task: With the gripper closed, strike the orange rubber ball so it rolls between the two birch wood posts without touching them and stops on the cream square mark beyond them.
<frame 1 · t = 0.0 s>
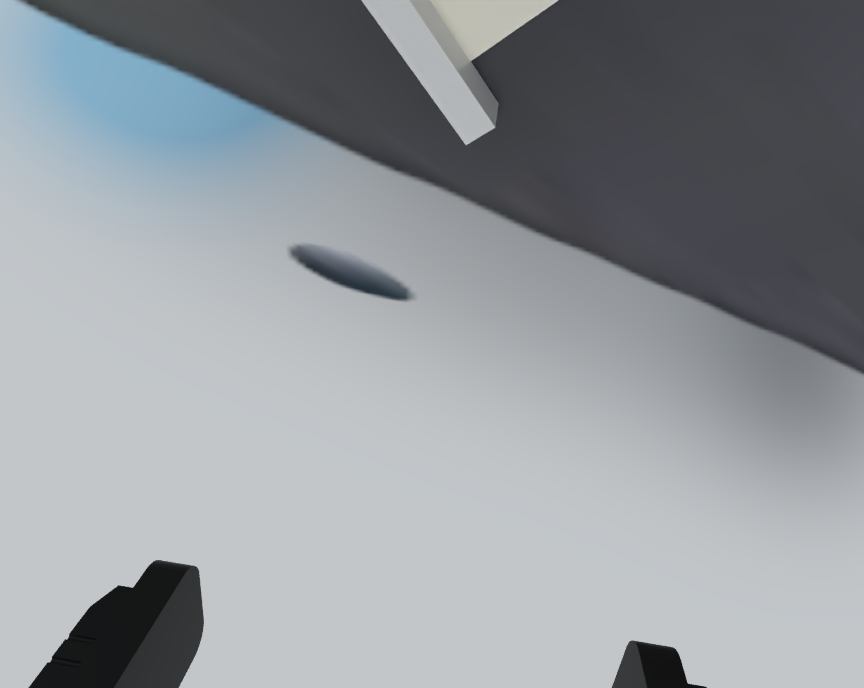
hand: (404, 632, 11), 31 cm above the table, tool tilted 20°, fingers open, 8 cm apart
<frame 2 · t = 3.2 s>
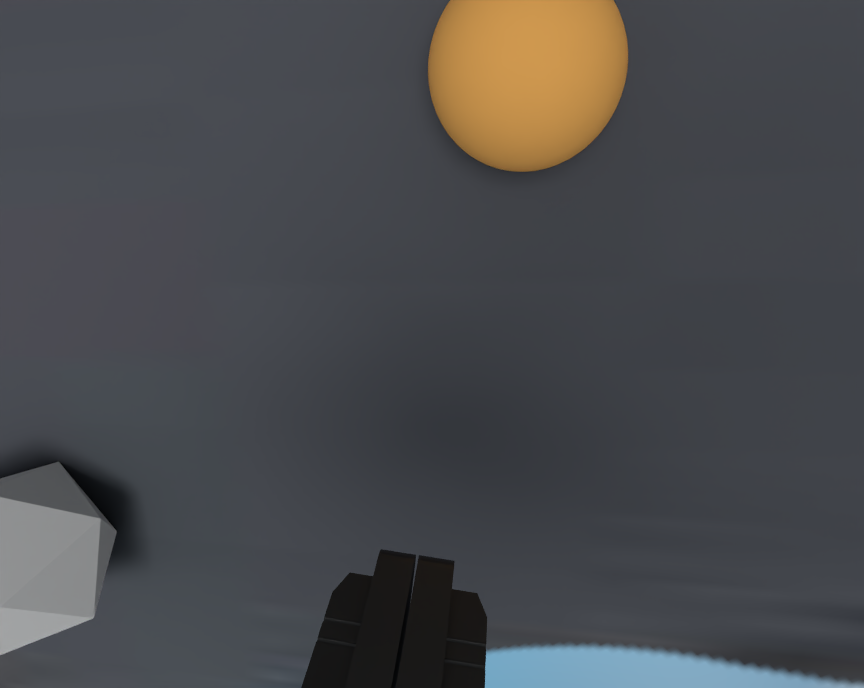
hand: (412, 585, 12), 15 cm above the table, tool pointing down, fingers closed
die: (71, 502, 33), on the table
ball: (525, 70, 18), on the table
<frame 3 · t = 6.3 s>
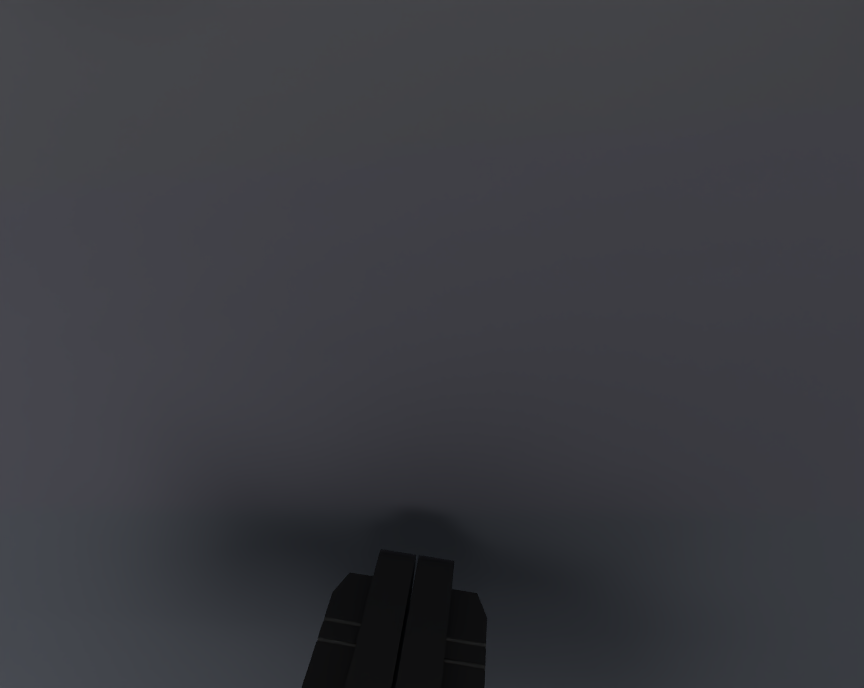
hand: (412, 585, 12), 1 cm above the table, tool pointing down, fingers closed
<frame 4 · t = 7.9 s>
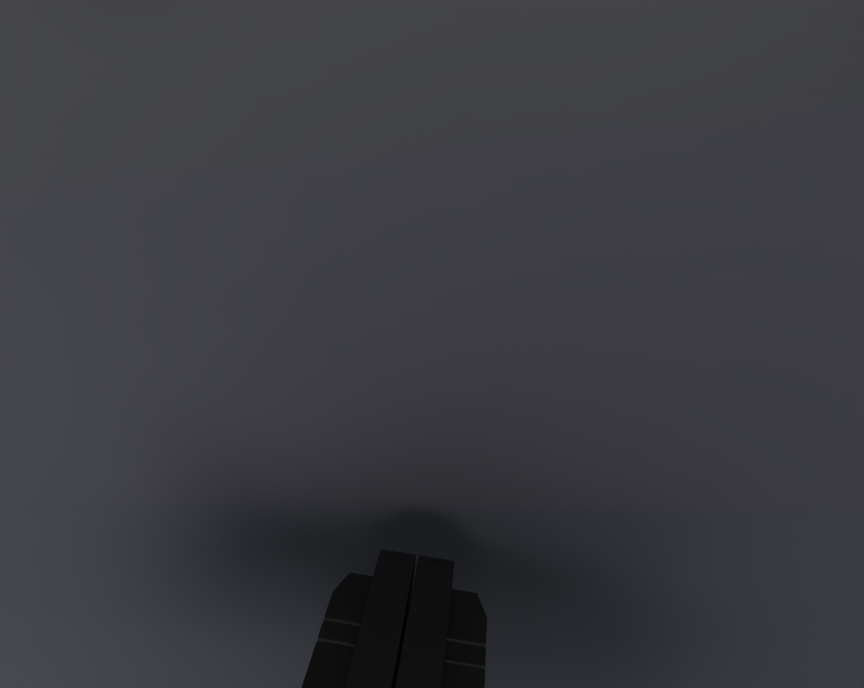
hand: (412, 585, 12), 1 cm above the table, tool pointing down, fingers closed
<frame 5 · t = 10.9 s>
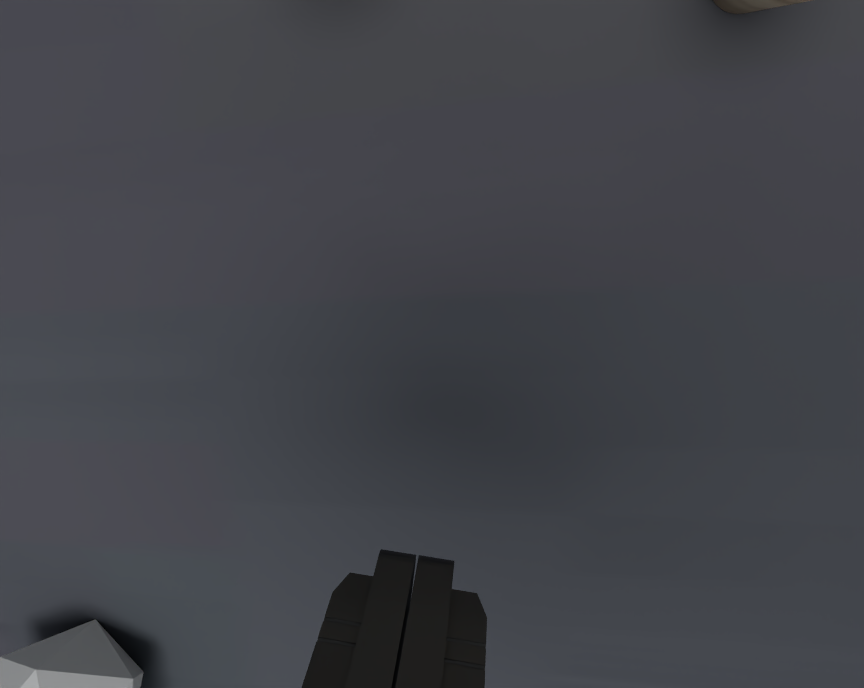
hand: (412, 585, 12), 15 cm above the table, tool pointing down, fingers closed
die: (104, 647, 39), on the table
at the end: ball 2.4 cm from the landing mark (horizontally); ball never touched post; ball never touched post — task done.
